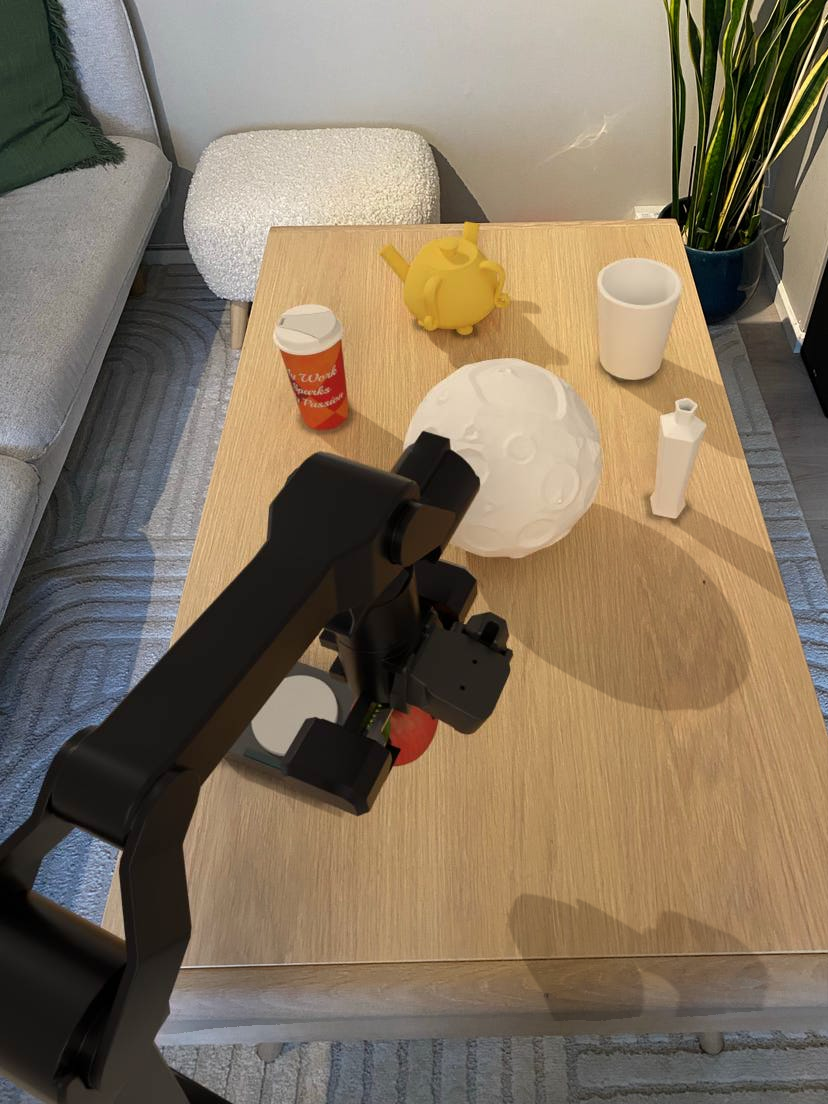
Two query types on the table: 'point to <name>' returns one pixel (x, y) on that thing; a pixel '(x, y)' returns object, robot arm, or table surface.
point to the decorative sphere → (515, 453)
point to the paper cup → (314, 363)
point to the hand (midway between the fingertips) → (398, 727)
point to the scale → (290, 717)
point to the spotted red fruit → (409, 733)
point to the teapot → (450, 282)
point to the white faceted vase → (676, 457)
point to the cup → (635, 315)
